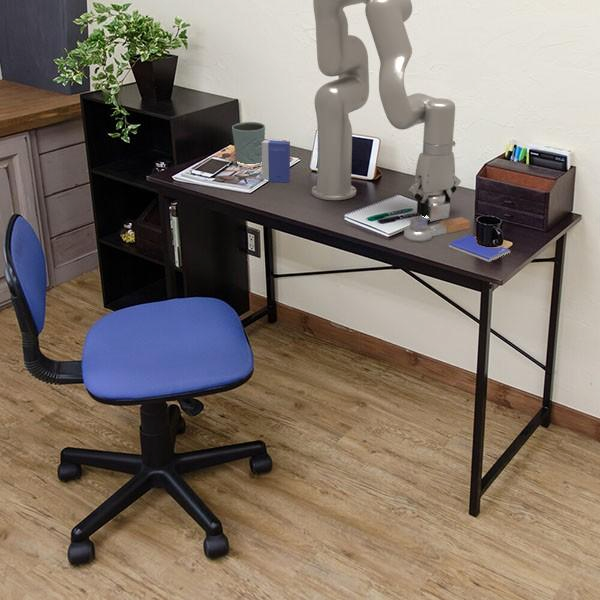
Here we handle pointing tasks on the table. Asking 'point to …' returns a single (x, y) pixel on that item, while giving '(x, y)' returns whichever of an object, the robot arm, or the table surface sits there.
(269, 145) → the walkman
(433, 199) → the frosted rounded block
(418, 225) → the ratchet
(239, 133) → the green tapered cup
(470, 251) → the blue flat block
